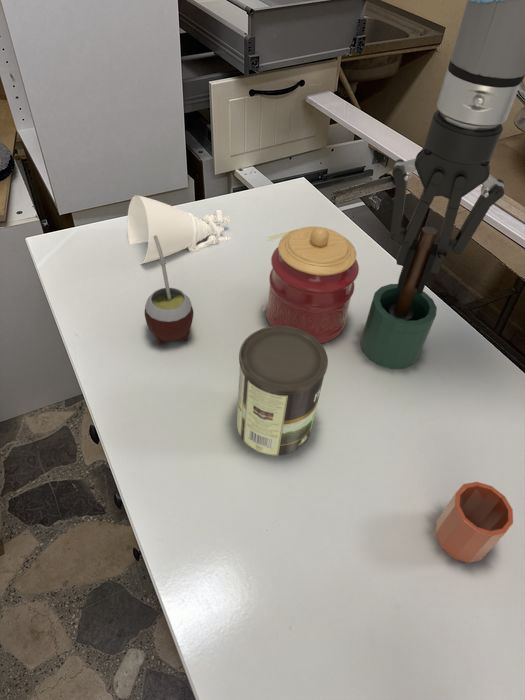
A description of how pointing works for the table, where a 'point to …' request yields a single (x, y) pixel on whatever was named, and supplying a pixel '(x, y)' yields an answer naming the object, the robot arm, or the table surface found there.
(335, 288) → the kitchen canister
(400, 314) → the brush
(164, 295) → the mate gourd
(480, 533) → the holder
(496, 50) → the robot arm
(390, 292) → the jar
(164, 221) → the rocket engine
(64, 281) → the table surface
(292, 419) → the coffee can
